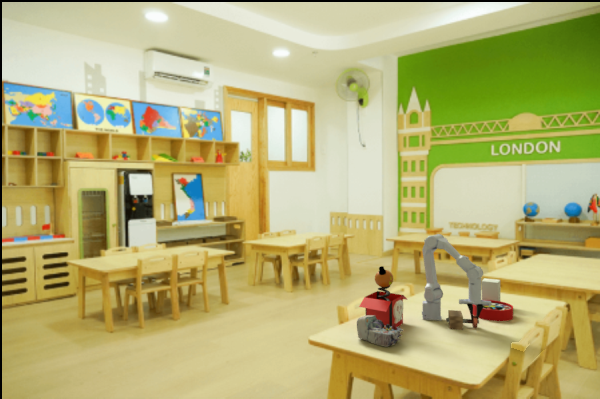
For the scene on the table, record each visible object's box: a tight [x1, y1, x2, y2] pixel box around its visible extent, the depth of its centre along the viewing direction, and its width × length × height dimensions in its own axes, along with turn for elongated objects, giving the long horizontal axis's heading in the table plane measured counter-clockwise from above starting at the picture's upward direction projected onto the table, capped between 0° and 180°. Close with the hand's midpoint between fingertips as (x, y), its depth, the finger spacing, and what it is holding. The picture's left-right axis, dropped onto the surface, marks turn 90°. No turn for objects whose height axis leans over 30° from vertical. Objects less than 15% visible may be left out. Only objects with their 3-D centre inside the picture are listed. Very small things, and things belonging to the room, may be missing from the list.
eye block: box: [447, 309, 464, 331], centre depth 215 cm, size 6×10×6 cm, turn 165°
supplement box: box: [481, 277, 501, 301], centre depth 250 cm, size 9×9×15 cm
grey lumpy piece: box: [356, 315, 404, 348], centre depth 196 cm, size 13×11×20 cm
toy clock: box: [472, 300, 514, 322], centre depth 232 cm, size 20×6×20 cm
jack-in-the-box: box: [358, 266, 408, 327], centre depth 218 cm, size 26×16×30 cm, turn 143°
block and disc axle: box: [445, 315, 480, 329], centre depth 214 cm, size 15×6×6 cm, turn 75°
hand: (474, 319), depth 213 cm, fingers closed on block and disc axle, 2 cm apart
